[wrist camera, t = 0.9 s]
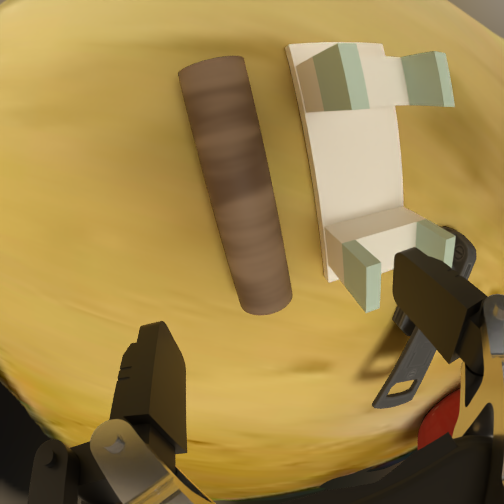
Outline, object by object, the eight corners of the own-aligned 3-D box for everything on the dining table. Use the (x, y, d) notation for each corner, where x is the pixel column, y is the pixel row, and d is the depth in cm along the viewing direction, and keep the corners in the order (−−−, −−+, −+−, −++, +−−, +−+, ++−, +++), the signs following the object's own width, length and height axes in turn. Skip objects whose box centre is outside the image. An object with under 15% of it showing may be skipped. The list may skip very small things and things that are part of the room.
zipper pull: (368, 413, 32) (466, 243, 22) (350, 379, 38) (427, 220, 28) (412, 403, 34) (500, 254, 24) (394, 374, 40) (466, 233, 30)
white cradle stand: (284, 47, 19) (327, 12, 11) (375, 45, 19) (439, 28, 11) (324, 276, 29) (363, 332, 21) (396, 253, 29) (447, 296, 21)
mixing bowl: (494, 366, 53) (522, 400, 39) (433, 431, 63) (453, 465, 49) (456, 366, 45) (493, 415, 31) (378, 445, 54) (400, 491, 41)
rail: (179, 79, 19) (176, 67, 15) (237, 66, 20) (249, 51, 15) (236, 291, 28) (245, 321, 24) (283, 277, 28) (299, 304, 24)
